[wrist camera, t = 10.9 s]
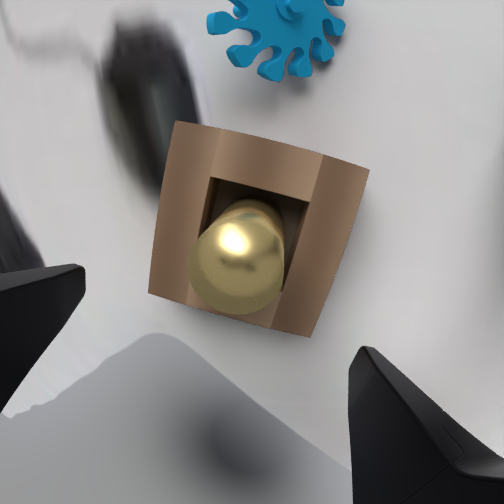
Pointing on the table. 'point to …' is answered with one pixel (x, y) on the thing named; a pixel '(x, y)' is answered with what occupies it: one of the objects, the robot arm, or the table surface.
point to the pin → (240, 257)
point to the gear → (279, 33)
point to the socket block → (265, 184)
